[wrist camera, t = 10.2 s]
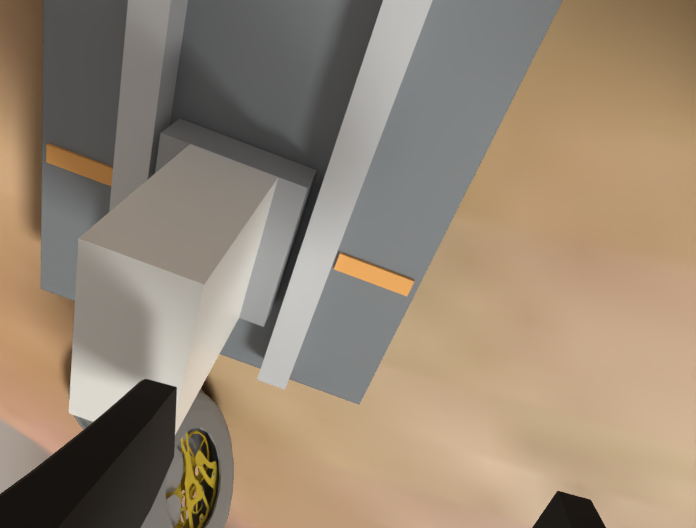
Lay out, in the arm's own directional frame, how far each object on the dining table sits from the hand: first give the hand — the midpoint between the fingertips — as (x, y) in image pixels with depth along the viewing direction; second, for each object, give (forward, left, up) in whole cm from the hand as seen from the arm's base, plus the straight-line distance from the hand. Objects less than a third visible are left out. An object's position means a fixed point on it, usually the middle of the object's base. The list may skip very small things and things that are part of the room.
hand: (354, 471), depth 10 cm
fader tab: (+5, 0, -7) cm, 9 cm away
